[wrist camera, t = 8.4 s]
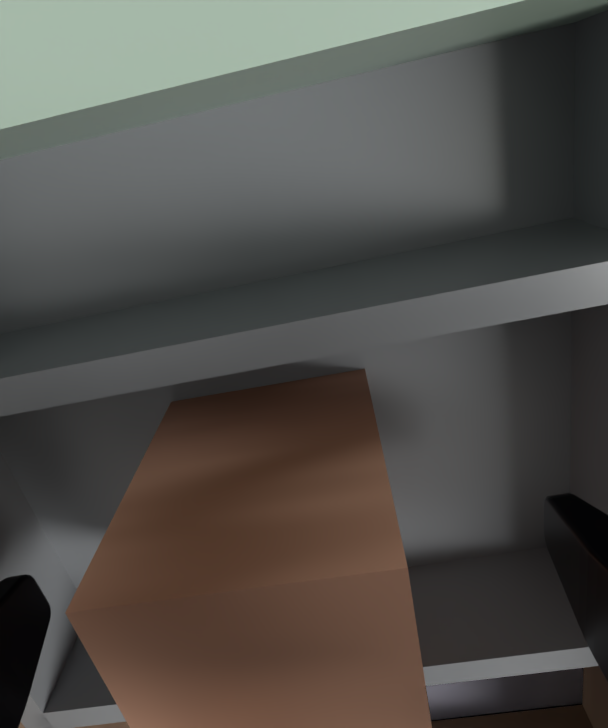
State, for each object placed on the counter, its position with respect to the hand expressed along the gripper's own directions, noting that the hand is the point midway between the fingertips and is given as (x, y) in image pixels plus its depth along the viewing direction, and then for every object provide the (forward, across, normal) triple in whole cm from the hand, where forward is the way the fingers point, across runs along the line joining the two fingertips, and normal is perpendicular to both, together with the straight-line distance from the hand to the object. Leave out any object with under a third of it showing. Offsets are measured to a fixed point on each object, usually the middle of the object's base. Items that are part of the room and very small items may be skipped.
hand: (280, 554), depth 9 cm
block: (+3, 0, 0) cm, 3 cm away
